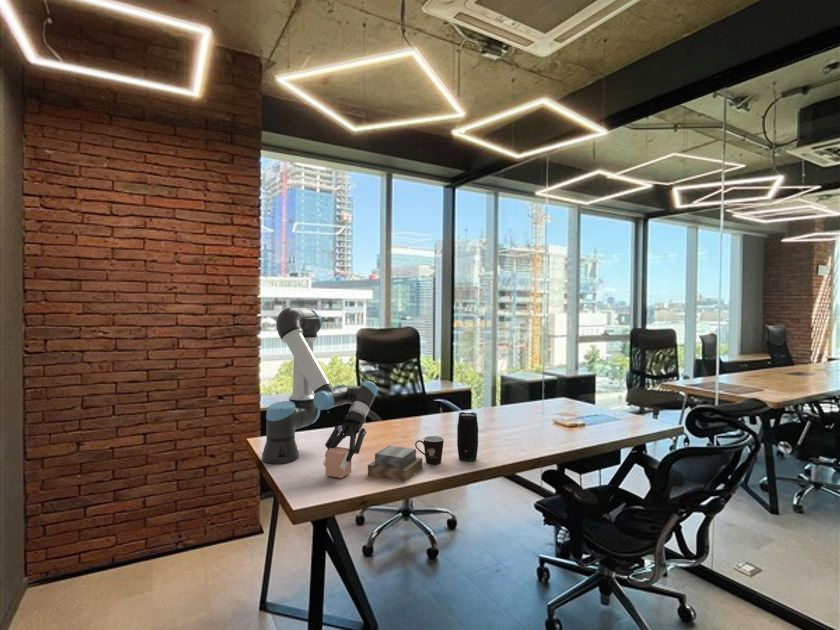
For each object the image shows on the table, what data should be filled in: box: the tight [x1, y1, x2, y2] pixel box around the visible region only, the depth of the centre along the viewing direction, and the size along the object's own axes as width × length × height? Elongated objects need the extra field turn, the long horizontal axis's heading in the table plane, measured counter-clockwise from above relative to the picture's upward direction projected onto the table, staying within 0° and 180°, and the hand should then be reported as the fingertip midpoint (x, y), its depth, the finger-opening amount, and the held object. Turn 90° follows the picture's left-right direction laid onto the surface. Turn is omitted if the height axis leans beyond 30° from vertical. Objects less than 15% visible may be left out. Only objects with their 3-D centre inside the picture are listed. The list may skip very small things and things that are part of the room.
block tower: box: [367, 445, 423, 482], centre depth 178 cm, size 16×16×8 cm
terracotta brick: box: [325, 446, 353, 479], centre depth 173 cm, size 7×7×9 cm
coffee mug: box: [414, 435, 445, 466], centre depth 190 cm, size 12×9×10 cm
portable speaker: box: [456, 411, 479, 462], centre depth 194 cm, size 9×9×20 cm
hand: (333, 467), depth 170 cm, fingers closed on terracotta brick, 7 cm apart
